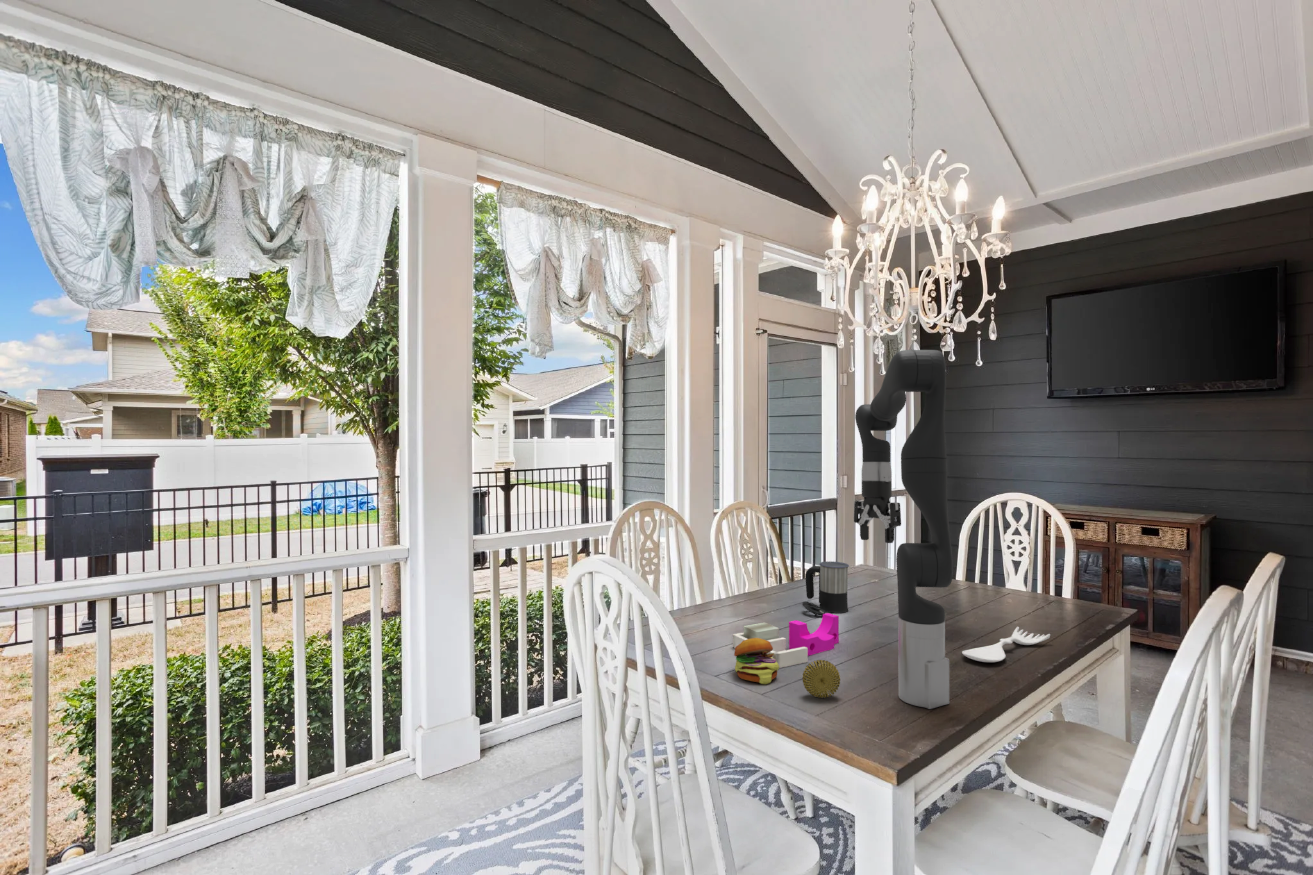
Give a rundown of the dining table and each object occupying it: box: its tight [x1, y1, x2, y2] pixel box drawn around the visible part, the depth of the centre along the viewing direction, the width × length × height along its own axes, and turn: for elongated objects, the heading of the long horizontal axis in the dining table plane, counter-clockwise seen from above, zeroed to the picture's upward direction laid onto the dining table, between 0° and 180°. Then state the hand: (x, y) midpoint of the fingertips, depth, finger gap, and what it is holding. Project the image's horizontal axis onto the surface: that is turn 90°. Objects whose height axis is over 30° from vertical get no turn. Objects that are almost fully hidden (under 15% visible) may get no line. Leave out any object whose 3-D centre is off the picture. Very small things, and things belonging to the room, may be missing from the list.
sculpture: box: [802, 659, 841, 699], centre depth 141 cm, size 8×4×8 cm, turn 88°
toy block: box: [788, 612, 840, 656], centre depth 174 cm, size 15×6×8 cm, turn 124°
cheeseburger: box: [733, 638, 780, 685], centre depth 154 cm, size 10×11×10 cm
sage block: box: [743, 622, 780, 640], centre depth 172 cm, size 6×7×6 cm
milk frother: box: [801, 560, 850, 617], centre depth 208 cm, size 14×16×15 cm
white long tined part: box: [961, 626, 1051, 663], centre depth 170 cm, size 9×32×4 cm, turn 126°
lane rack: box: [732, 632, 809, 669], centre depth 168 cm, size 18×10×4 cm, turn 28°
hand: (876, 541), depth 172 cm, fingers open, 8 cm apart
